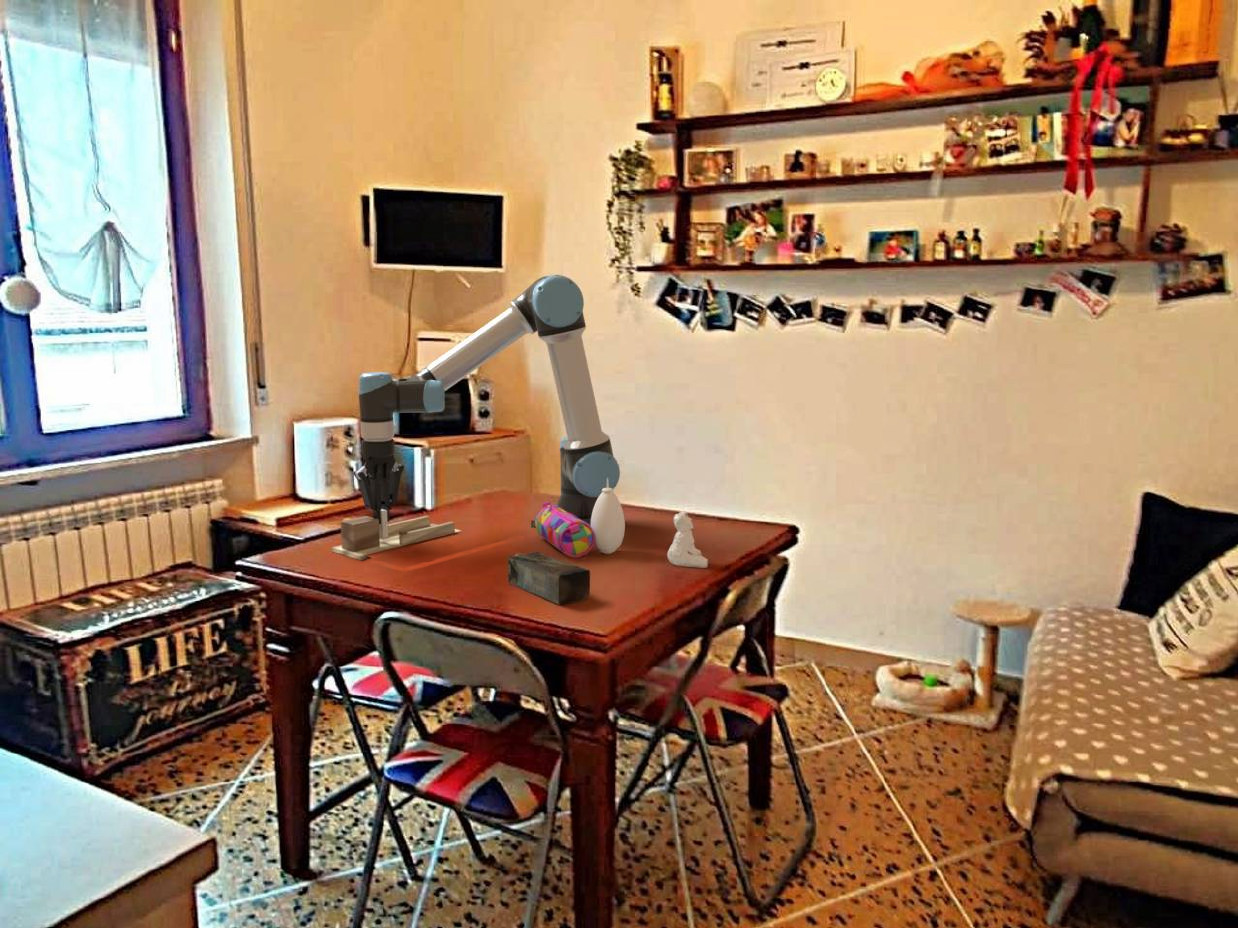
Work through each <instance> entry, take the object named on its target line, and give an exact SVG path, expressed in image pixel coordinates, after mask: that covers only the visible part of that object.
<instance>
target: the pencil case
mask: <svg viewBox="0 0 1238 928" xmlns="http://www.w3.org/2000/svg"><path fill="white" fill-rule="evenodd" d="M541 505H542V509H541V510H540V511H539V512H538V514H537V515H536V517H535V519H534V520H533V519H531V521H530V528H533V529H535V530H536V532H537V534H538V535H539V536H540V537H542V538H543V539H544V540H546V541H547V542H548V543H550V544H551V545H552V546H553V547H555V548H556V549H558V550H559V551H560V552H562V553H563V554H564V555H566V556H568V557H570V558H582V557H584V556H586V555H587V554H588V553H590V551H591V550H592V549H593V548H594V546H595V544H594V542H595V537H594V532H593V529H592V527H591V526H590V525H589V524H588V523H586V522H584V521H582V520H581V519H579V518H577V517H576V516H574V515H573V514H571V513H568V512H566V511H565V510H564V509H563V508H562V507H560V506H558V504H557V505H556V504H551V501H547V502H543V503H541Z"/></svg>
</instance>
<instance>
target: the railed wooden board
mask: <svg viewBox="0 0 1238 928" xmlns="http://www.w3.org/2000/svg"><path fill="white" fill-rule="evenodd" d="M455 523H456V522H455V521H447V522H444V523H440V524H437V523H431V518H430V515H424V516H419V517H414V518H411V519H406V520H402V521H397V522H393V523H388V537H384V538H382V537H379V538H380V546H378V547H374V548H370V549H366V550H361V551H357V552H352V551H349V550H346V549H342V544H339V545H336V546H332V547H331V552H333V553H335V554H338V555H342V556H346V557H349V558H352V559H355V560H359V561H363V560H367V559H371V558H372V557H371V556H368V555H371V554H375V553H379V552H384V551H387V550H392V549H395V548H399V547H400V548H401V547H403V546H406V545H407V546H408V545H411V544H415V543H420V542H422V541H423V542H424V541H428V540H431V539H435V538H439V537H443V536H447V535H453V534H456V533H458V532H459V533H460V532H462V530H461V529H456V524H455Z"/></svg>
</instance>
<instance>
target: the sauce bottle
mask: <svg viewBox="0 0 1238 928" xmlns="http://www.w3.org/2000/svg"><path fill="white" fill-rule="evenodd" d="M591 527H592V529H593V532H594V537H595V542H594V546H595V548H596V549H599V552H601V553H603V554H605V555H610V554H612V553H614V552H616V550H617V549H619V548H620V547H621V545H622V543H623V540H624V538H625V537H624V536H625V532H626V531H625V530H626V523H625V515H624V511H623V508H622V504H621V502H620V500H619V498H618V497H617V495H616V494H615V492H614V489H612V488H609V481H608V478H607V488H603V489H602V493H601V494H600V496H599V497H598V499H597V501H596V503H595V506H594V508H593V512H592V516H591Z"/></svg>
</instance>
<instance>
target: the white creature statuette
mask: <svg viewBox="0 0 1238 928" xmlns="http://www.w3.org/2000/svg"><path fill="white" fill-rule="evenodd" d="M692 520H693V519H692V518H691V517H689V515H688V512H687V511H684V510H682V511H680V512H679V513H676V514H675V515H674V516H673V525H674V527H675V529H676V530H677V531H676V533H675V534H674V536H673V541H672V544H671V545H670V547H669V548H668V551H667V553H666V556H667V559H668V560H669V563H671V564H672V565H674V566H678V567H689V568H700V569H705V568H708V563H709V562H708V561H709V559H708V558H706V557H704V556H703V555H702V552H701V550H700V549H698V548H696V545H695V542H696V541H695V538H694V536H693V531H692V529H694V525H693V522H692Z"/></svg>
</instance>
